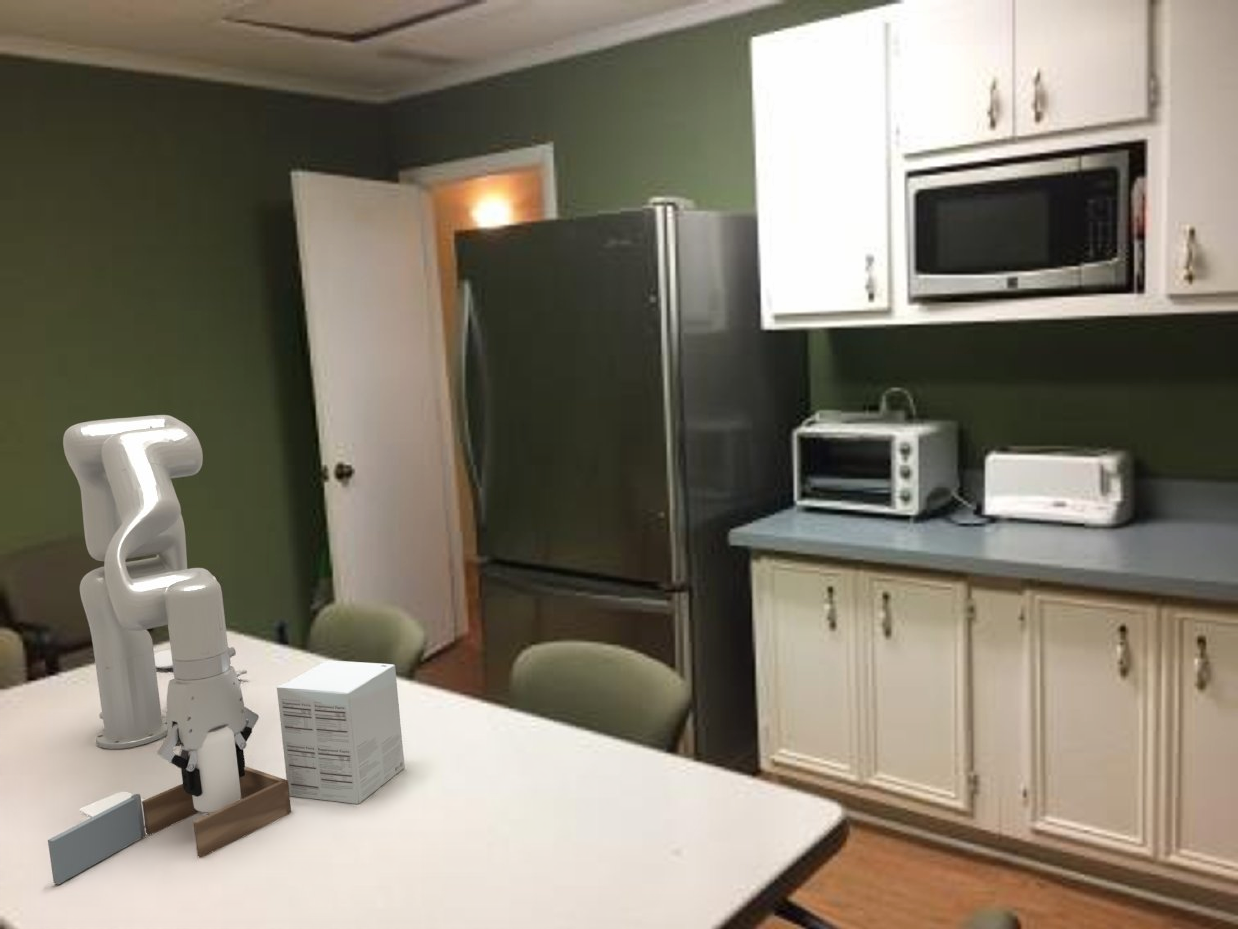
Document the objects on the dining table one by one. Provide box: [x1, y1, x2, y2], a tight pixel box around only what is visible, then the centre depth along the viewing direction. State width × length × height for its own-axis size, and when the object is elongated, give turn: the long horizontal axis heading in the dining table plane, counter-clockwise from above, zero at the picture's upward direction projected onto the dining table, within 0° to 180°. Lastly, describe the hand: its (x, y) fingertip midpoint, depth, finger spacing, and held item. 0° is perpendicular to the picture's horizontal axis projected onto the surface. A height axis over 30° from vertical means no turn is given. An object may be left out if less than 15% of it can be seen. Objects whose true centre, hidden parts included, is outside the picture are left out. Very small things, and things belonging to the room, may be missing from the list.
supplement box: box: [276, 659, 406, 805], centre depth 160 cm, size 13×13×18 cm
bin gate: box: [47, 793, 147, 885], centre depth 140 cm, size 14×1×6 cm, turn 155°
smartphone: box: [79, 791, 145, 826], centre depth 155 cm, size 7×1×15 cm
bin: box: [142, 765, 292, 858], centre depth 149 cm, size 14×15×5 cm
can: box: [188, 724, 242, 814], centre depth 148 cm, size 6×6×12 cm
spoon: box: [154, 649, 248, 677], centre depth 219 cm, size 9×32×4 cm, turn 47°
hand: (215, 783), depth 149 cm, fingers closed on can, 6 cm apart
